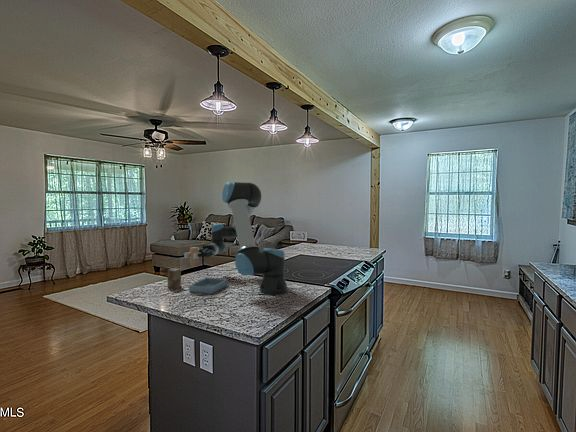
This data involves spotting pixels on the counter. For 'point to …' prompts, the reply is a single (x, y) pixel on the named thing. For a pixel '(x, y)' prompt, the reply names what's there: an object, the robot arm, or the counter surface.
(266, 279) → the robot arm
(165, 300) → the counter surface
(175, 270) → the walnut block
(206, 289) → the tray
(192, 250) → the canister
